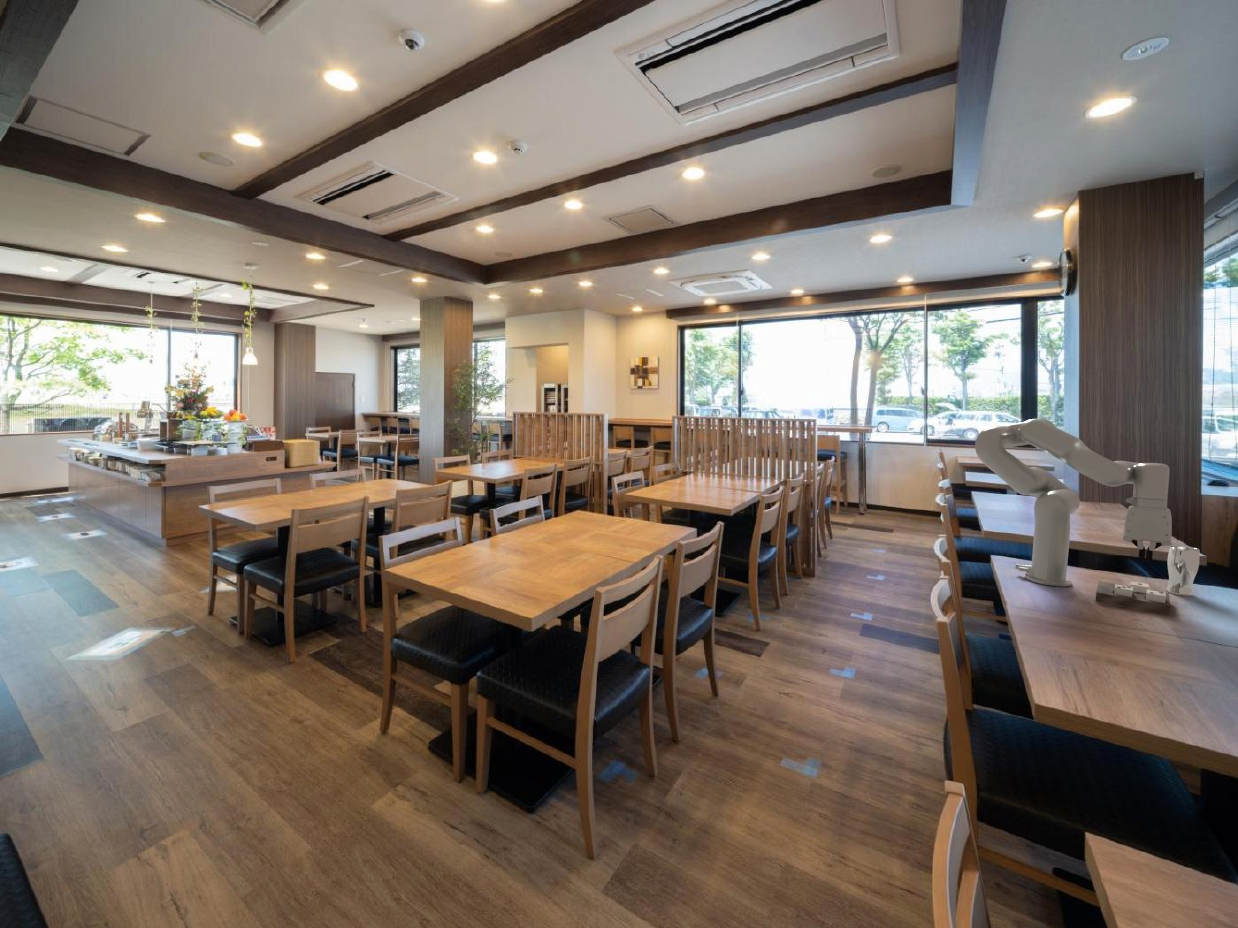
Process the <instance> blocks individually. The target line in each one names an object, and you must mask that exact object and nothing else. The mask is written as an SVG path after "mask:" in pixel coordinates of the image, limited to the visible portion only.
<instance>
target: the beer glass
mask: <svg viewBox="0 0 1238 928" xmlns="http://www.w3.org/2000/svg"><path fill="white" fill-rule="evenodd" d="M1200 559H1201V558H1200V549H1199V548H1196V547H1193V546H1186V545H1178V544H1177V545H1176V544H1175V545H1174V544H1173V545H1171V546H1169V551H1168V554H1167V571H1168V583H1167V586H1166V588H1165V592H1166V593H1169V594H1172V595H1177V596H1181V597H1193V596H1194V590H1193V588H1194V587H1193V585H1194V584H1193V583H1194V580H1195V577H1196V575H1197V573H1198V571H1199V567H1200Z"/></svg>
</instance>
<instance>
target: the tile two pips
mask: <svg viewBox="0 0 1238 928" xmlns="http://www.w3.org/2000/svg"><path fill="white" fill-rule="evenodd" d="M1152 590H1153V589H1149V590H1147V592H1146V600H1150V601H1156V602H1162V603H1165V601H1166V593H1167V592H1165V593H1164V591H1160V592H1158V590H1154V591H1152Z"/></svg>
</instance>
